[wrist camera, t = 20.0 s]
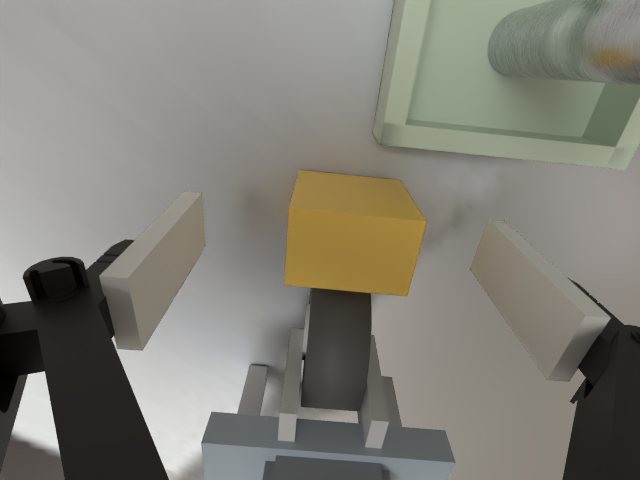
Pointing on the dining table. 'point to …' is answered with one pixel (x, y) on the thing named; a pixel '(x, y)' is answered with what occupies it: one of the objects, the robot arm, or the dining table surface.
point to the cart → (328, 393)
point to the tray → (492, 94)
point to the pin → (570, 41)
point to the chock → (352, 234)
